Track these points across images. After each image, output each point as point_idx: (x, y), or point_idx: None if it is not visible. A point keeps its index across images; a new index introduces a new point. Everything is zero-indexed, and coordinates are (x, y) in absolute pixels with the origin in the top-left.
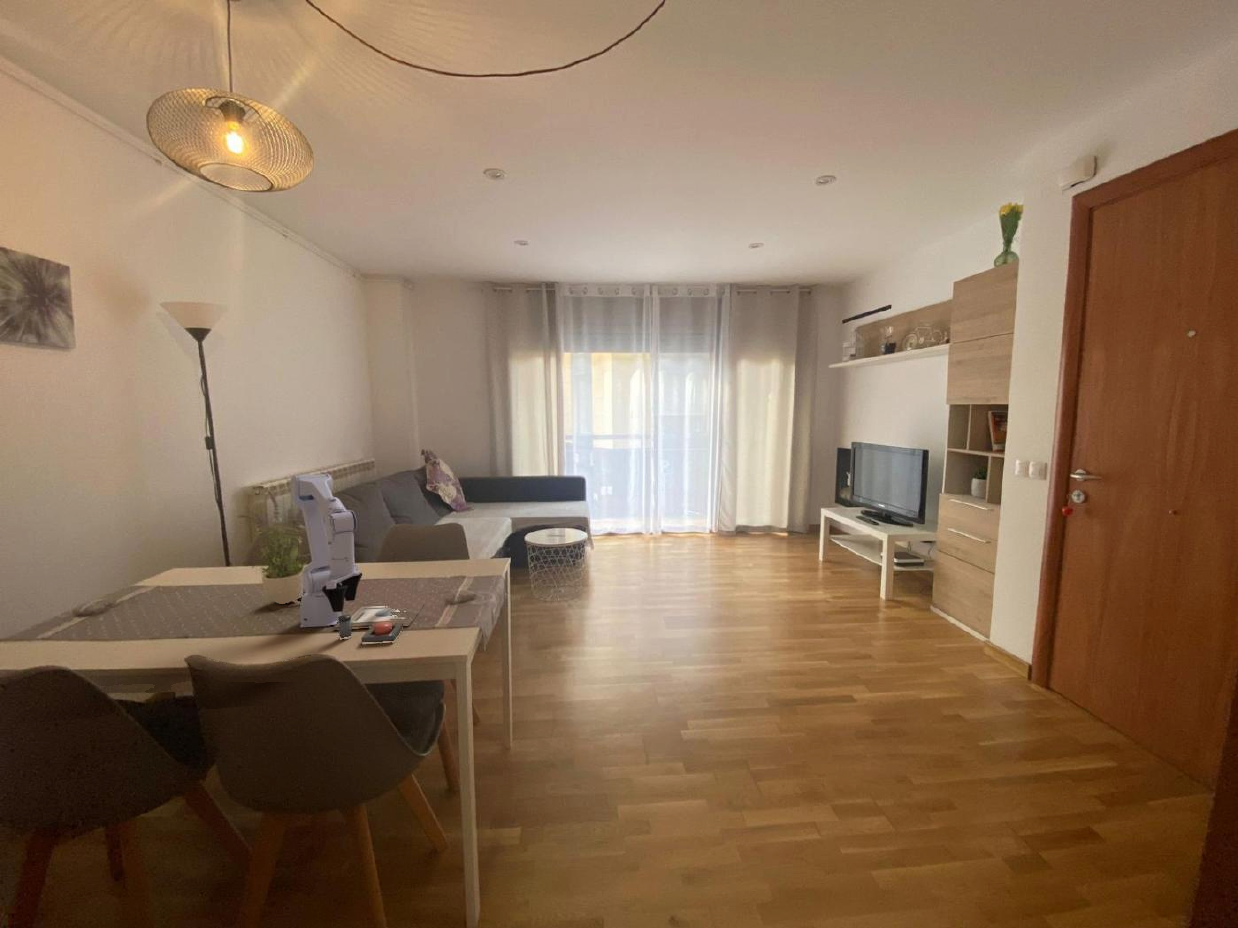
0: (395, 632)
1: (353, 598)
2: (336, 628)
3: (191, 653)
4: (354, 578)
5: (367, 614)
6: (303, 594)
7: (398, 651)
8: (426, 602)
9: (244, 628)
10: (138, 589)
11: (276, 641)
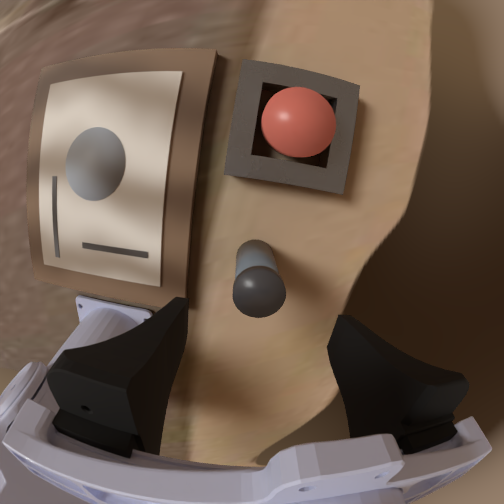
0: (332, 79)
1: (185, 305)
2: None
3: (245, 463)
4: (145, 401)
5: (96, 228)
6: None
7: (404, 83)
8: (34, 72)
9: None
10: None
11: (228, 401)
